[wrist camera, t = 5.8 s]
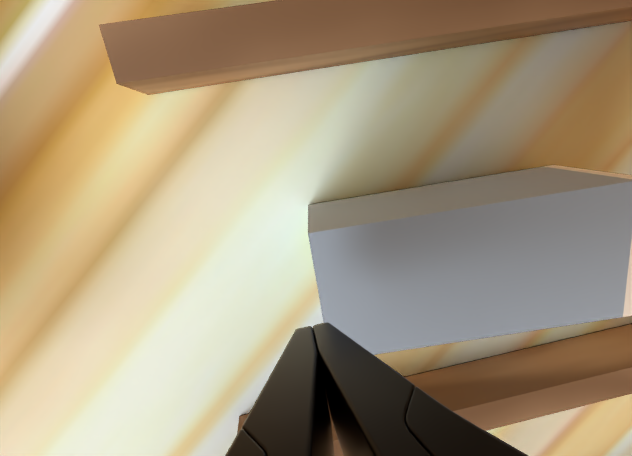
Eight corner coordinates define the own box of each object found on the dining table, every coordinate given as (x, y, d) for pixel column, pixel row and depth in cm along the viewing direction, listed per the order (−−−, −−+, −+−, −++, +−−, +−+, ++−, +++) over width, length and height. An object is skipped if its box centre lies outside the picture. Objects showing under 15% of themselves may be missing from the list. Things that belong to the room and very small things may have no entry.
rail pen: (673, 337, 18) (734, 367, 16) (246, 440, 16) (241, 492, 14) (734, -37, 13) (836, -76, 11) (135, 48, 11) (98, 24, 9)
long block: (324, 301, 15) (549, 267, 15) (330, 361, 11) (635, 315, 11) (308, 204, 14) (553, 164, 13) (308, 233, 10) (652, 178, 10)
